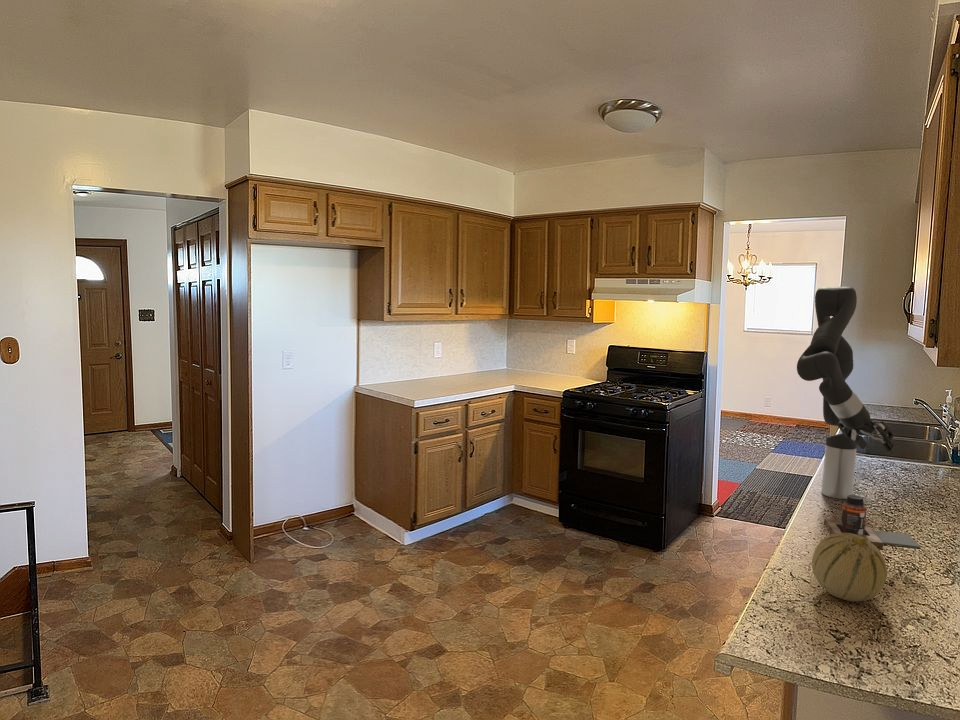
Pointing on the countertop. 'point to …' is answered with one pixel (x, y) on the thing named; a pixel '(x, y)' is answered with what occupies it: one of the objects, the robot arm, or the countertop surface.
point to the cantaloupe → (849, 567)
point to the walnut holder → (869, 534)
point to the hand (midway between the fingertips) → (877, 448)
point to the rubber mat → (896, 539)
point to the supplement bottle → (853, 515)
